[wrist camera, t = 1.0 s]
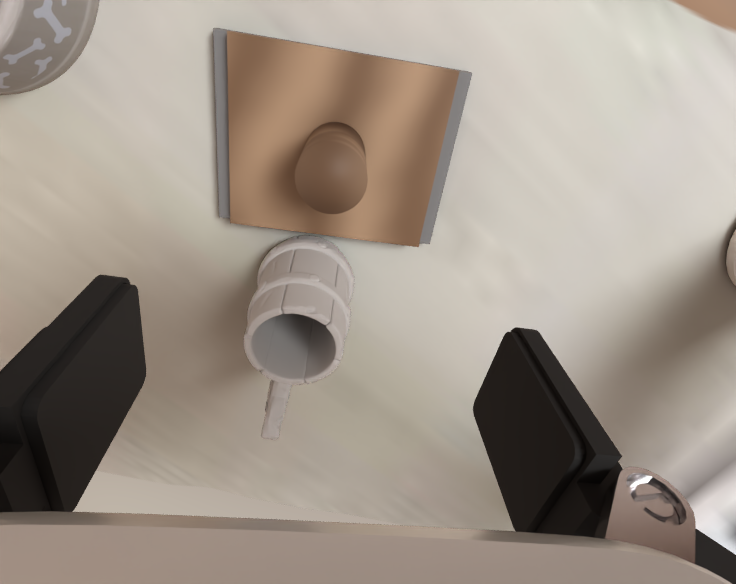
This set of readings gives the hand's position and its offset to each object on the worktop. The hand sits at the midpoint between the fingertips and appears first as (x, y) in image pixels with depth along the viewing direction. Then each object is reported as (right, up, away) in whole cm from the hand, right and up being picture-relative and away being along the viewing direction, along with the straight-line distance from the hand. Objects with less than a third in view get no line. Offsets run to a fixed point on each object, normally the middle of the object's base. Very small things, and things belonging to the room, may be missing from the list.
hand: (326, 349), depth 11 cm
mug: (-4, +2, +25) cm, 26 cm away
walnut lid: (-1, +11, +18) cm, 21 cm away
